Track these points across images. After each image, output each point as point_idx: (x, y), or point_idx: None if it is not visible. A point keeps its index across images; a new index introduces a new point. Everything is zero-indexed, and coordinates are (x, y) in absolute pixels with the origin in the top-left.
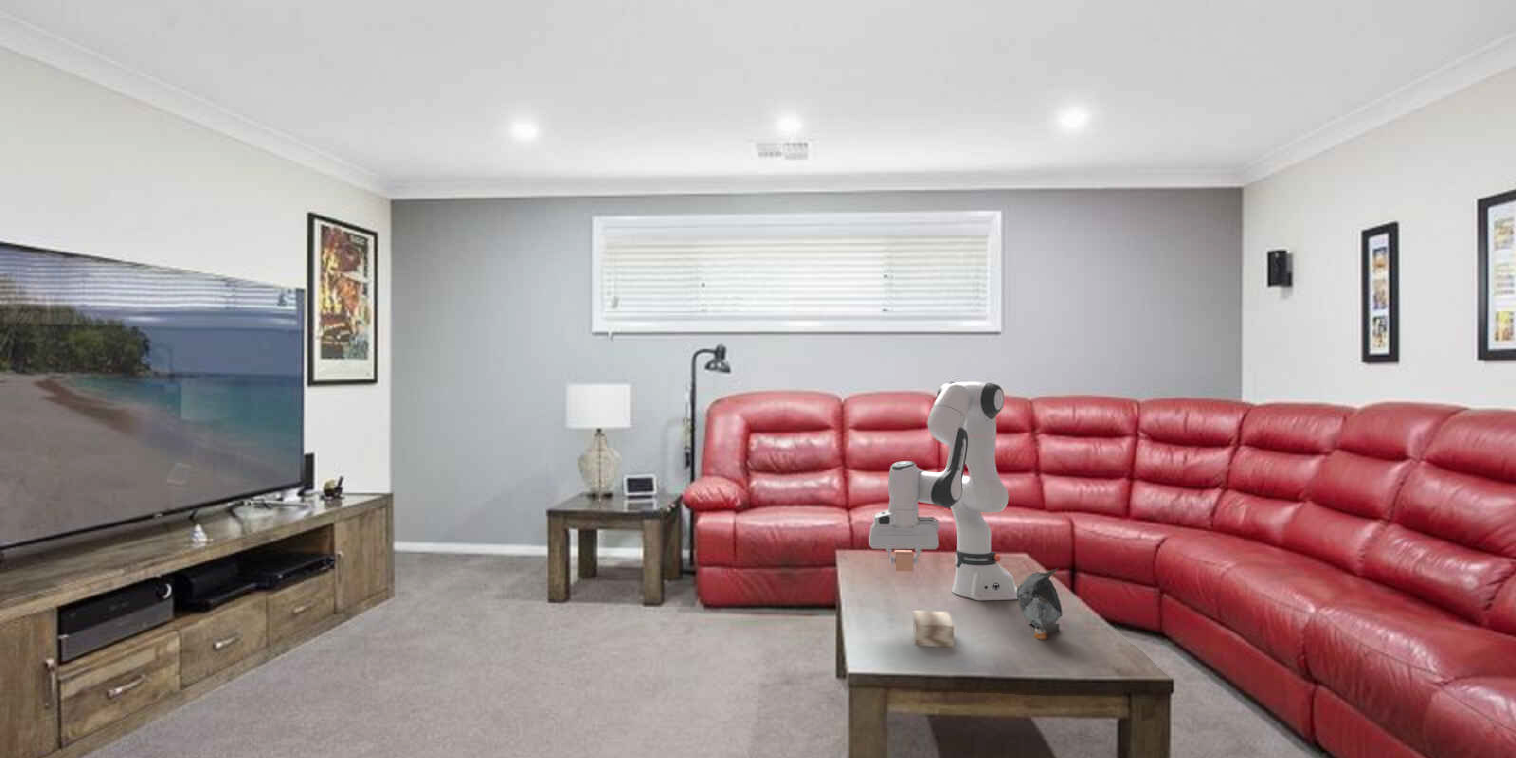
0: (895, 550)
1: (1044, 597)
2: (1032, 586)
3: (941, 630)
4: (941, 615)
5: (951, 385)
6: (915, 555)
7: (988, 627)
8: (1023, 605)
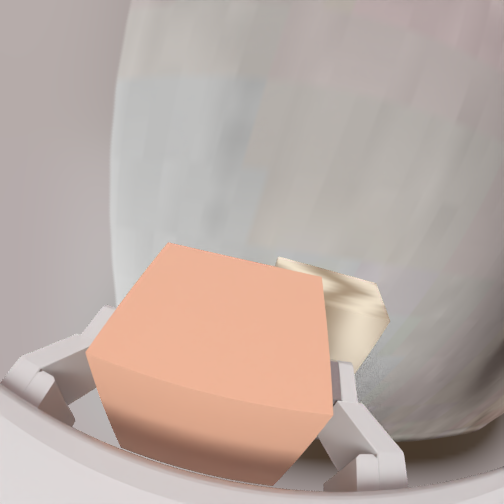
0: (101, 374)
1: None
2: None
3: None
4: (349, 342)
5: None
6: (341, 418)
7: (485, 263)
8: None
